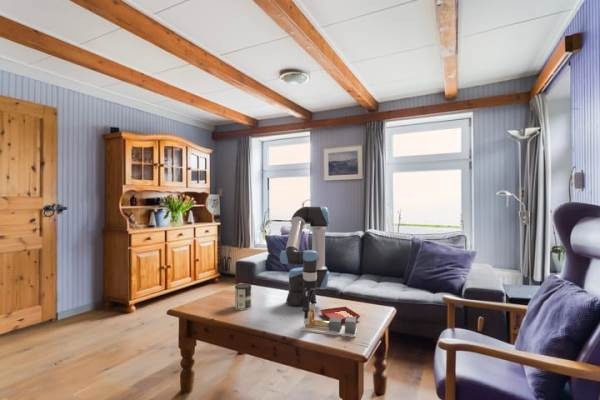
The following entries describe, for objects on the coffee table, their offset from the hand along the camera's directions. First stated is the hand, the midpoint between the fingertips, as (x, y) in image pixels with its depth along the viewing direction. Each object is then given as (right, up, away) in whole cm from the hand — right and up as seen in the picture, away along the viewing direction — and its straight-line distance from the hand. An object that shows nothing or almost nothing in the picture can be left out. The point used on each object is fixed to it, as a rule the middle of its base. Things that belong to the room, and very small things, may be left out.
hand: (309, 319), depth 169 cm
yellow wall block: (+7, -3, -2) cm, 8 cm away
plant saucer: (+18, -5, +16) cm, 24 cm away
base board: (+11, -5, -3) cm, 12 cm away
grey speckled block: (+13, -5, -4) cm, 15 cm away
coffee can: (-42, -5, +32) cm, 53 cm away
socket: (+21, -5, -6) cm, 22 cm away
